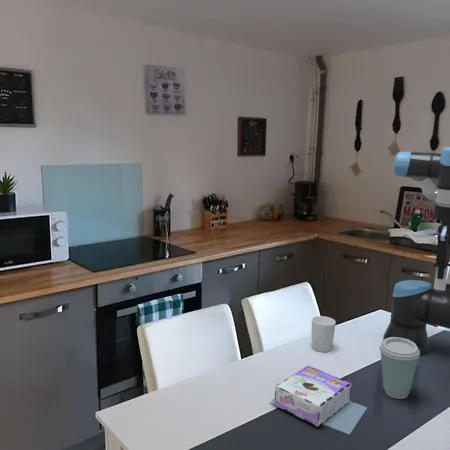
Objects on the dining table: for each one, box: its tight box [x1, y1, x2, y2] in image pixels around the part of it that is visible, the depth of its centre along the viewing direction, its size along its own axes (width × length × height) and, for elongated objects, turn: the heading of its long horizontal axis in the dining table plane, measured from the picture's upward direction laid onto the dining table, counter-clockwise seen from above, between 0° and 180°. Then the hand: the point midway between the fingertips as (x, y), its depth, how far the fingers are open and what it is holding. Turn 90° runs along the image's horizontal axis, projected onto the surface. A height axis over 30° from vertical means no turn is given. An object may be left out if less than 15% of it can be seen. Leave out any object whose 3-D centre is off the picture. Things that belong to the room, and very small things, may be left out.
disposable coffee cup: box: [379, 337, 421, 400], centre depth 129 cm, size 11×11×15 cm
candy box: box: [273, 365, 352, 427], centre depth 123 cm, size 14×6×16 cm
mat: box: [269, 397, 368, 436], centre depth 123 cm, size 14×22×1 cm, turn 56°
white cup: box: [311, 315, 336, 353], centre depth 156 cm, size 8×8×10 cm
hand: (439, 289), depth 127 cm, fingers closed
